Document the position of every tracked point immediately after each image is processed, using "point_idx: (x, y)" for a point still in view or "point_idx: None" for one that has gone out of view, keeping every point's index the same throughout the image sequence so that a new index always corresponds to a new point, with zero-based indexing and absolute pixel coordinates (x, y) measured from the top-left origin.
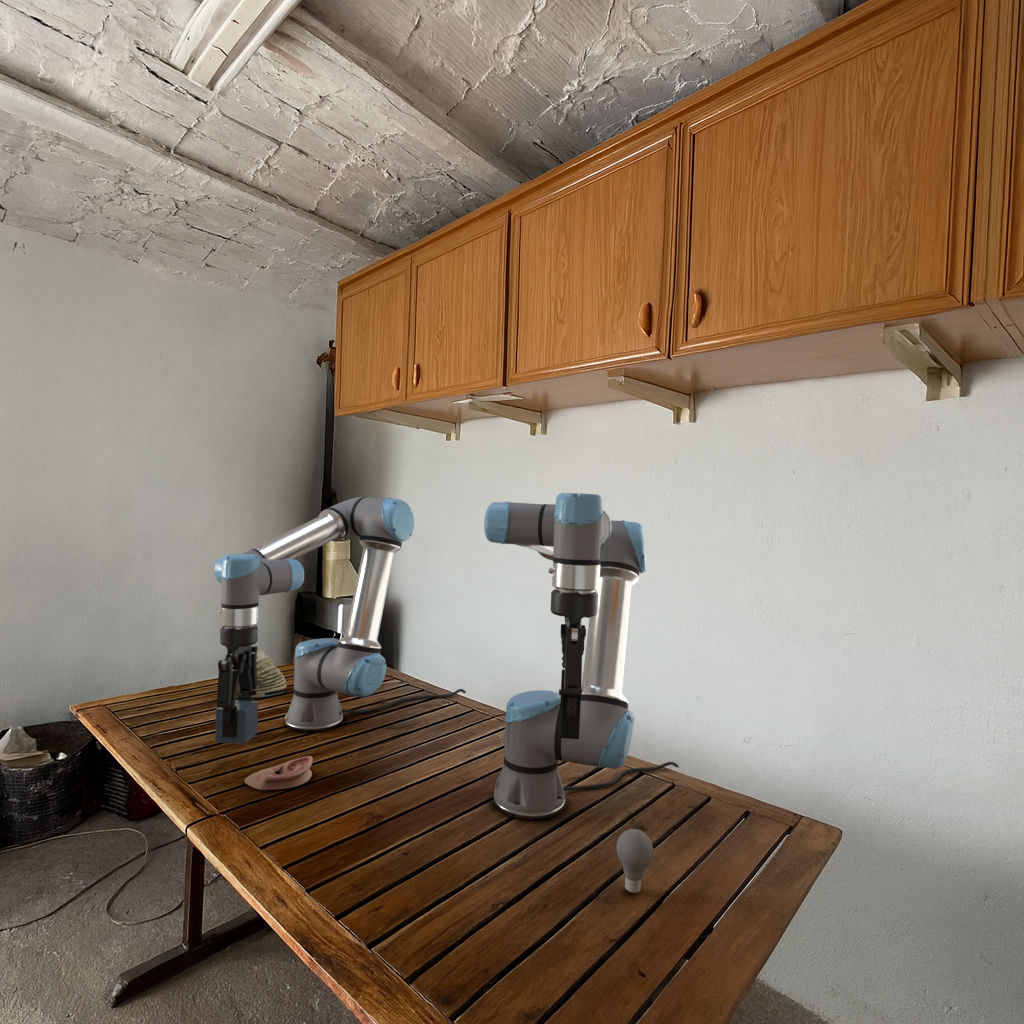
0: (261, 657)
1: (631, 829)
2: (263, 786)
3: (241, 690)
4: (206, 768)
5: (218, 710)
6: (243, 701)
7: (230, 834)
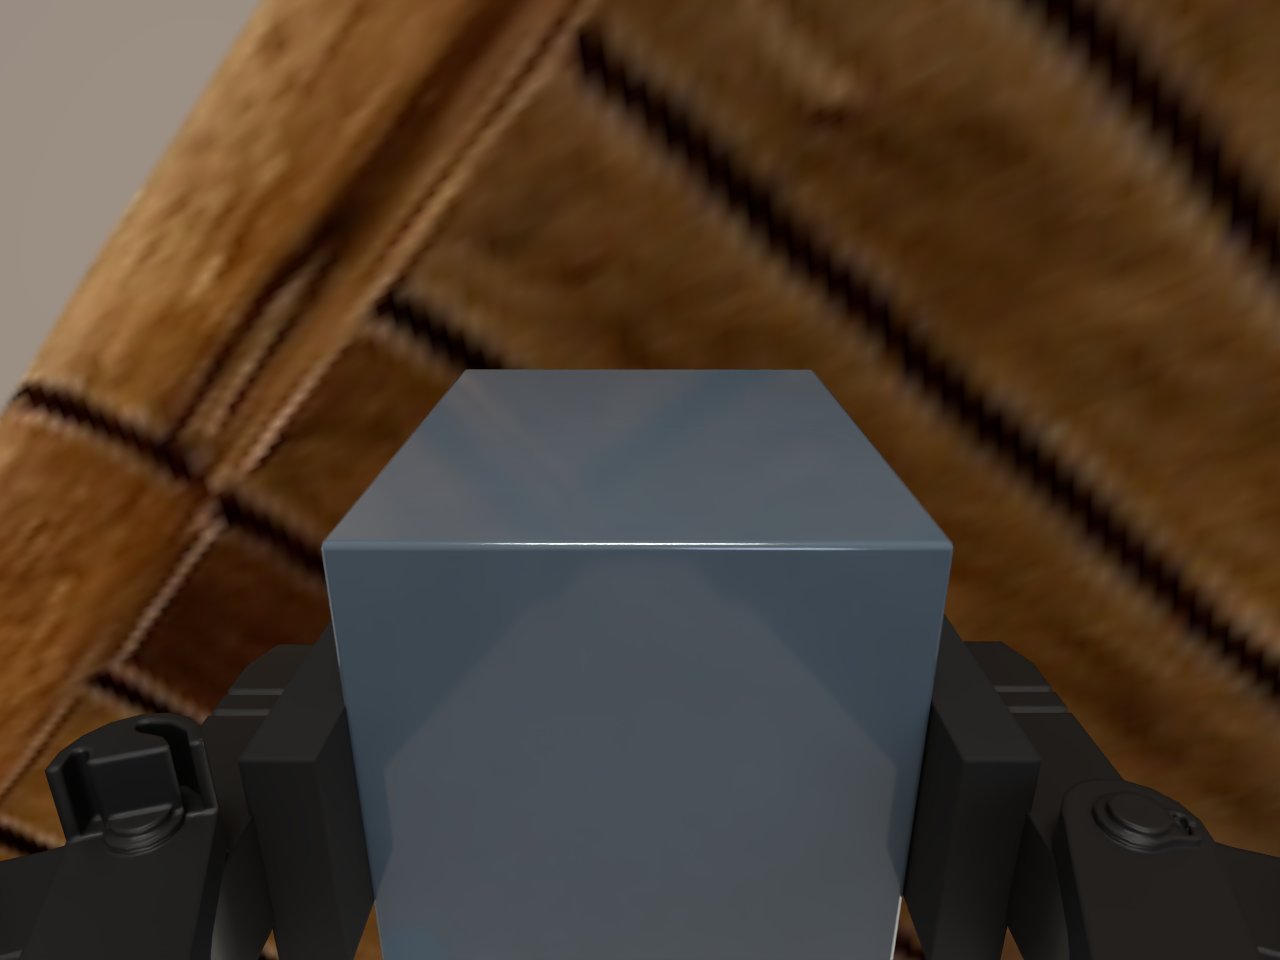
0: None
1: None
2: None
3: (1068, 896)
4: (871, 34)
5: (333, 585)
6: (845, 826)
7: (32, 654)
